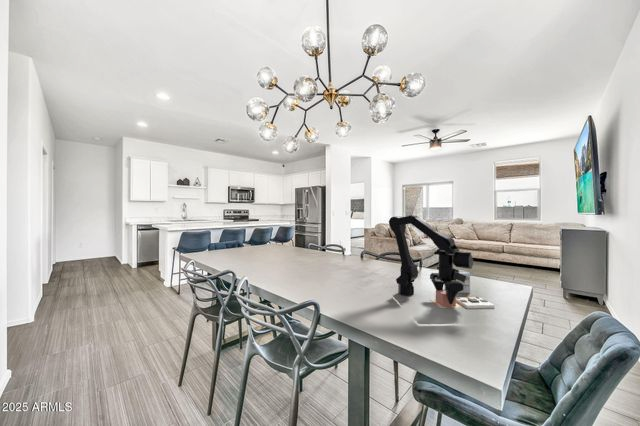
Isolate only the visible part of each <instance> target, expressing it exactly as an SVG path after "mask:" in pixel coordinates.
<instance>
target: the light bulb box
mask: <svg viewBox="0 0 640 426" xmlns="http://www.w3.org/2000/svg"><path fill="white" fill-rule="evenodd" d="M459 273H461V274H463V275H466V276H467V277H466V280H465V282H462V281H459V280H457V279H456V281H458V282H460V283H462V284H463V285H464V290H462V291H459V292H458V293H459V294H471V273H470V272H469V271H466V270H459ZM452 281H453V280H452ZM445 288H446V287H445V284H444V285H443V290H445ZM458 293H457V294H458Z"/></svg>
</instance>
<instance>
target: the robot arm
mask: <svg viewBox="0 0 640 426" xmlns="http://www.w3.org/2000/svg"><path fill="white" fill-rule="evenodd" d="M410 224H411V225H412V226H414V227H415V228H416V229H418V230H419V231H420V232H421V233H423V234H424V235H425V236H427V237H428V238H429V239H431V241H432V243H433V244H434V245H435V246H436V247H437V248H438V249H436V250H435V251H434V252H433V255H438V266H436V269H437V270H438V272H431V273H430V274H429V280H431V283H432V284H433V287H434V289H435V291H436V290H444V284H445V287H446V288H445V291H446V294H447V298H448V301H449V304H453V301H454V298H455V296H456V297H457V294H458V292H459V291H462V290H464V285H463V284H462V283H460V282H458V281H456V279H457V280H459V281H462V282H465V280H466V277H467V276H466V275H463V274H461V273H459V271H460V269H459V270H458V269H456V268H461V269H469V270H472V268H473V265H474V258H473V256H472V252H471V251H461V250H460V249H459V248H458V246H457V245H456V243H455V240H454V238H453V237H452V236H449V235H447V234H445V233H442V232H439V231H438V230H436V229H435V228H433V227H432V226H431V225H429V224H428V223H426V222H425V221H424V220H423V219H421V218H420V217H418V215H416V214H410V215H406V216H399V215H398V216H392V217H390V218H389V220H388V225H389V227H390V230H391V232H393V234H394V237H395V240H396V241H395V242H396V245H397V249H398V253H399V254H398V255H399V257H400V262H401V265H400V275H399V276H398V277H397V278H396V279H395V281H396V284H397V285H398V288H397V290H398V291H397V292H398V294H399V296H405V297H406V296H409V297H410V296H414V293H415V286H414V282H415V280H416V279H417V278H418V276H419V273H420V272H419V269H418V265H417V264H414V263H413V262H412V258H411V253H410V250H409V245H408V241H407V237H406V229H407V225H410ZM453 266H455V268H454V267H453ZM452 280H453V281H452Z"/></svg>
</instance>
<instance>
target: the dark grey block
mask: <svg viewBox="0 0 640 426" xmlns="http://www.w3.org/2000/svg"><path fill="white" fill-rule="evenodd" d="M468 301H470V302H472V303H479V301H478V300H477V299H468Z"/></svg>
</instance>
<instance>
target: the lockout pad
mask: <svg viewBox="0 0 640 426" xmlns="http://www.w3.org/2000/svg"><path fill="white" fill-rule="evenodd" d="M429 301H430V302H431V303H433V304H434V305H436V306H437V307H438V308H439V309H446V308H447V309H451V308H453V309H454V308H457V309H458V308H461V309H462V308H463V307H464V306H462V305H461V304H459V303H457V302H456V306H442V305H440V304H439V303H438V302H436V299H429ZM463 309H464V308H463Z"/></svg>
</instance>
